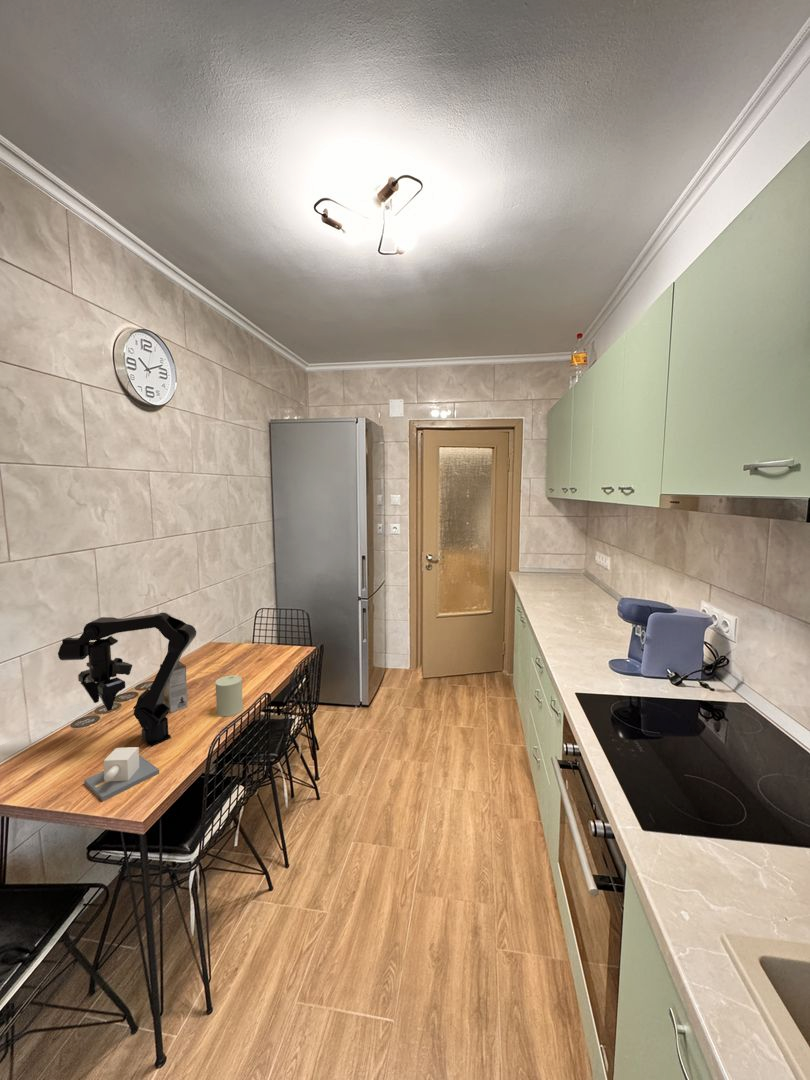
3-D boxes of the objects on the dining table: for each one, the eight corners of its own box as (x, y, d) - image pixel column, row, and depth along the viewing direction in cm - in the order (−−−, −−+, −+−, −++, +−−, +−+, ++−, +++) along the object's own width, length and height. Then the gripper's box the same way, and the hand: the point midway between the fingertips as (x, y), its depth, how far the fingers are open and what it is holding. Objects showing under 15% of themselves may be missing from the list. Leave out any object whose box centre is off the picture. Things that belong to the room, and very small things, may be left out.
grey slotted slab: (139, 758, 129) (138, 743, 129) (159, 773, 122) (158, 757, 122) (84, 783, 118) (83, 767, 117) (102, 801, 111) (101, 784, 110)
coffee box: (161, 705, 163) (159, 664, 161) (179, 699, 167) (177, 659, 166) (170, 713, 157) (168, 670, 155) (188, 706, 161) (186, 665, 160)
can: (246, 704, 163) (245, 673, 162) (238, 716, 154) (236, 684, 153) (222, 704, 163) (220, 674, 162) (212, 716, 154) (210, 684, 153)
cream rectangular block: (139, 767, 123) (138, 747, 122) (120, 789, 113) (119, 767, 113) (117, 768, 122) (116, 747, 122) (96, 790, 113) (95, 768, 112)
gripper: (142, 657, 137) (144, 704, 138) (114, 645, 147) (117, 689, 148) (102, 668, 127) (105, 718, 129) (76, 655, 138) (79, 702, 139)
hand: (102, 706), depth 136 cm, fingers open, 9 cm apart
